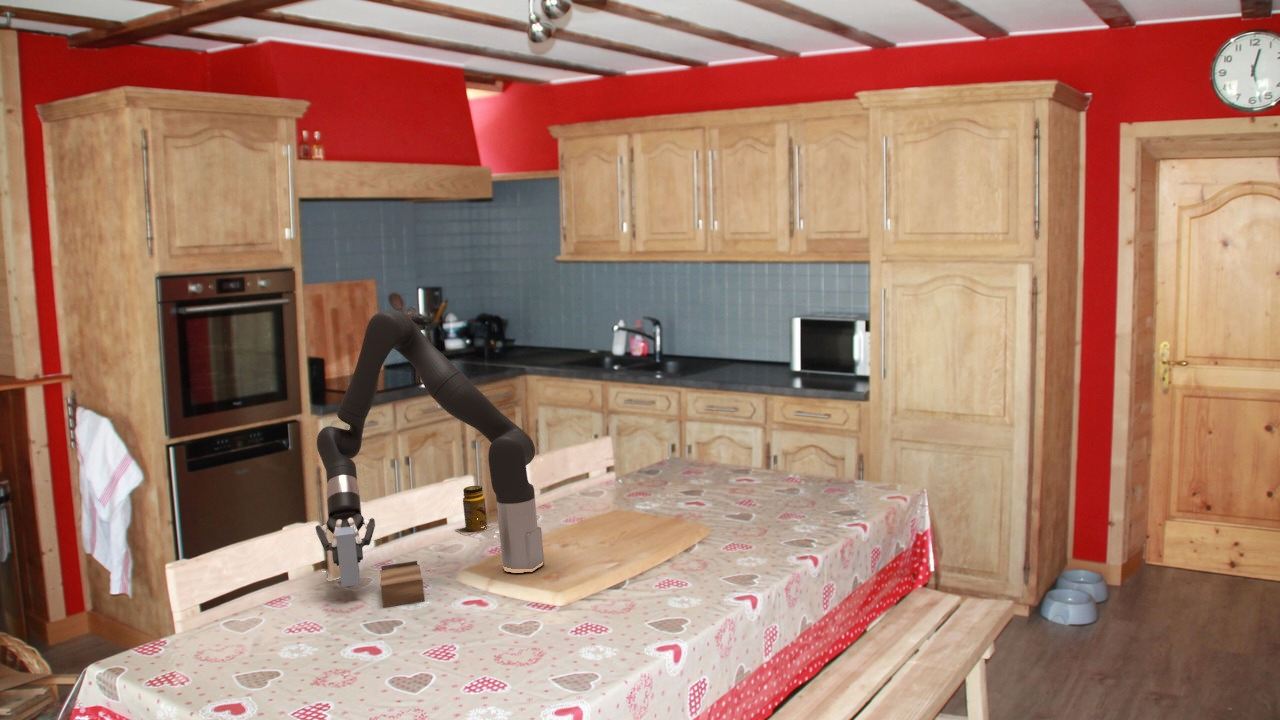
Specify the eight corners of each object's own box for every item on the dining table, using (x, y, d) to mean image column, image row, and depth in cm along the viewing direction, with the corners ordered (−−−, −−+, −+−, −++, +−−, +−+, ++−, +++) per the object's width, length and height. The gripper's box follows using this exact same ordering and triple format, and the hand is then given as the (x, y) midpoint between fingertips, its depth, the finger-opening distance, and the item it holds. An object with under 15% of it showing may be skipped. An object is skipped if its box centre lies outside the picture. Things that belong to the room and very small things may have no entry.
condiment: (493, 529, 290) (489, 487, 289) (465, 535, 285) (460, 493, 284) (482, 524, 296) (477, 483, 295) (454, 530, 291) (450, 489, 290)
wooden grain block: (381, 580, 251) (378, 557, 250) (419, 575, 253) (416, 551, 253) (383, 607, 232) (380, 582, 231) (424, 600, 234) (421, 575, 234)
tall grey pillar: (341, 577, 244) (336, 528, 242) (359, 575, 245) (354, 525, 243) (341, 587, 237) (335, 535, 235) (359, 584, 238) (354, 533, 236)
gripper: (310, 494, 244) (314, 559, 233) (373, 486, 247) (379, 550, 237) (314, 511, 249) (317, 575, 239) (375, 503, 253) (381, 565, 243)
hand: (348, 562), depth 238 cm, fingers closed on tall grey pillar, 4 cm apart
